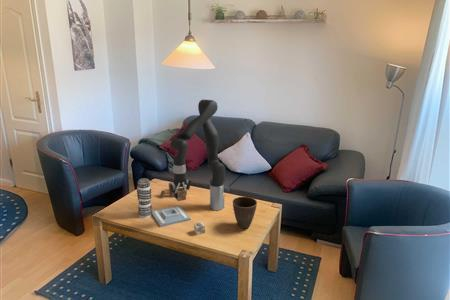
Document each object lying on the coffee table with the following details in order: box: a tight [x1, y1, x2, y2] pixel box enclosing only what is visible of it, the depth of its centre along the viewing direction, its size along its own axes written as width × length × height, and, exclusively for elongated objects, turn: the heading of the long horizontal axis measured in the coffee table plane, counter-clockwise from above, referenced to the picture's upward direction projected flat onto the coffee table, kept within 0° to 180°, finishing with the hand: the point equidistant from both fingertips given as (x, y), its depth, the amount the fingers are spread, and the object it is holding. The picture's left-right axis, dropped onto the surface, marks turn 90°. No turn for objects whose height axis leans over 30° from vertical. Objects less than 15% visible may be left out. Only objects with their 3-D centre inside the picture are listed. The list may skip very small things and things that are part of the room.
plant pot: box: [232, 196, 258, 229], centre depth 204 cm, size 15×15×16 cm
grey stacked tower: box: [135, 177, 153, 219], centre depth 214 cm, size 9×9×25 cm
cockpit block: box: [193, 221, 206, 236], centre depth 197 cm, size 5×5×6 cm
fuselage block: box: [174, 187, 187, 202], centre depth 204 cm, size 5×5×6 cm
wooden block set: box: [159, 181, 175, 198], centre depth 247 cm, size 18×9×10 cm, turn 153°
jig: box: [151, 205, 191, 227], centre depth 216 cm, size 20×20×3 cm
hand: (180, 196), depth 204 cm, fingers closed on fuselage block, 5 cm apart
